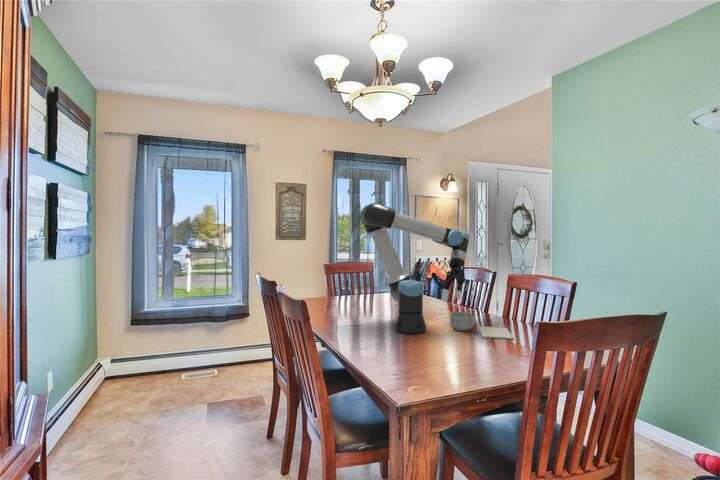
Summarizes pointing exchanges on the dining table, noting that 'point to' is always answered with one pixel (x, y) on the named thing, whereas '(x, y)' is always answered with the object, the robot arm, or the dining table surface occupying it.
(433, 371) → the dining table surface
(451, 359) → the dining table surface
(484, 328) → the placemat
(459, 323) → the teacup
